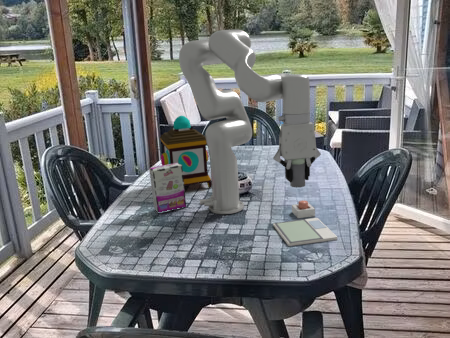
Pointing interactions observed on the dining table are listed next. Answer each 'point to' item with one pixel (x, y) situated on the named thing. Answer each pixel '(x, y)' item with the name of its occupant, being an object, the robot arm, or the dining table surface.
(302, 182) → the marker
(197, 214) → the dining table surface
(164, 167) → the candy bar box
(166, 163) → the decorative lantern
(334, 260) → the dining table surface
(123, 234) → the dining table surface
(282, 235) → the picture board
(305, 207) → the button
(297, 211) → the button housing
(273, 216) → the dining table surface
